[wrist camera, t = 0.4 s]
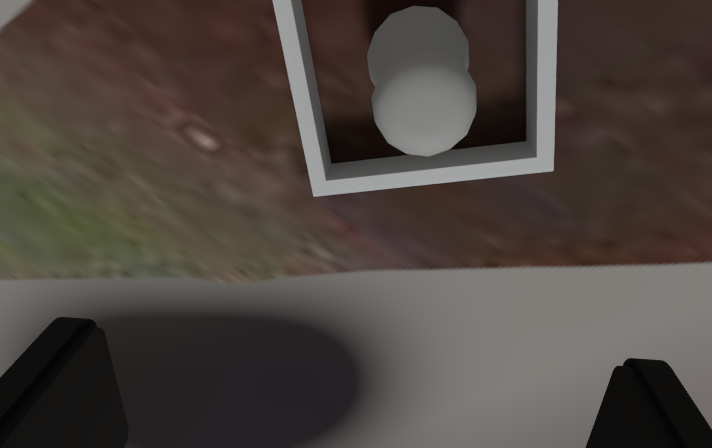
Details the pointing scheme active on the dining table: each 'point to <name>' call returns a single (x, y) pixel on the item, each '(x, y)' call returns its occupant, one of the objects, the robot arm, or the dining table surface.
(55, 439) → the robot arm
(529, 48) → the parts bin
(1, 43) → the dining table surface
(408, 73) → the salt shaker
